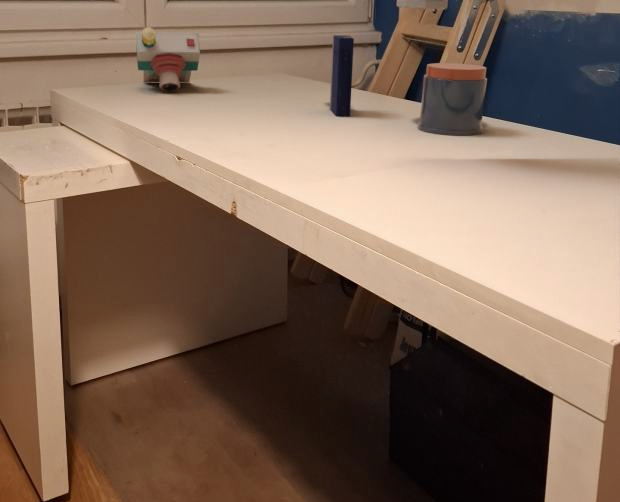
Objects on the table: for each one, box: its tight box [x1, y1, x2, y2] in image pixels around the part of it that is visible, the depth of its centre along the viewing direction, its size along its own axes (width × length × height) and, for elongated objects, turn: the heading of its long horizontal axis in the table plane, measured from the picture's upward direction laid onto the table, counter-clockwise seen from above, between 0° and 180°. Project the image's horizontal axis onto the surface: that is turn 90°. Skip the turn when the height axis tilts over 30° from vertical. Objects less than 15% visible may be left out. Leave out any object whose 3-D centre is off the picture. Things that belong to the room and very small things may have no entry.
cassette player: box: [329, 34, 355, 117], centre depth 123 cm, size 7×2×12 cm, turn 7°
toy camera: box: [135, 26, 201, 92], centre depth 143 cm, size 11×9×20 cm
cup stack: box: [416, 62, 488, 136], centre depth 112 cm, size 10×10×9 cm
